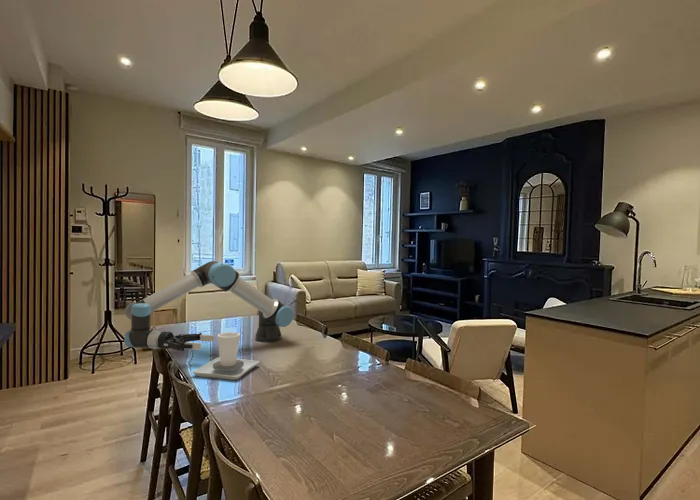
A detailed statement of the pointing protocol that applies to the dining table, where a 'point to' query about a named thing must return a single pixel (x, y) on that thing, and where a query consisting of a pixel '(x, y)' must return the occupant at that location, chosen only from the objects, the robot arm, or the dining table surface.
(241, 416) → the dining table surface
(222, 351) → the foam cup
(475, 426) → the dining table surface
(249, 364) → the salad plate
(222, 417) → the dining table surface
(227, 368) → the slate coaster
